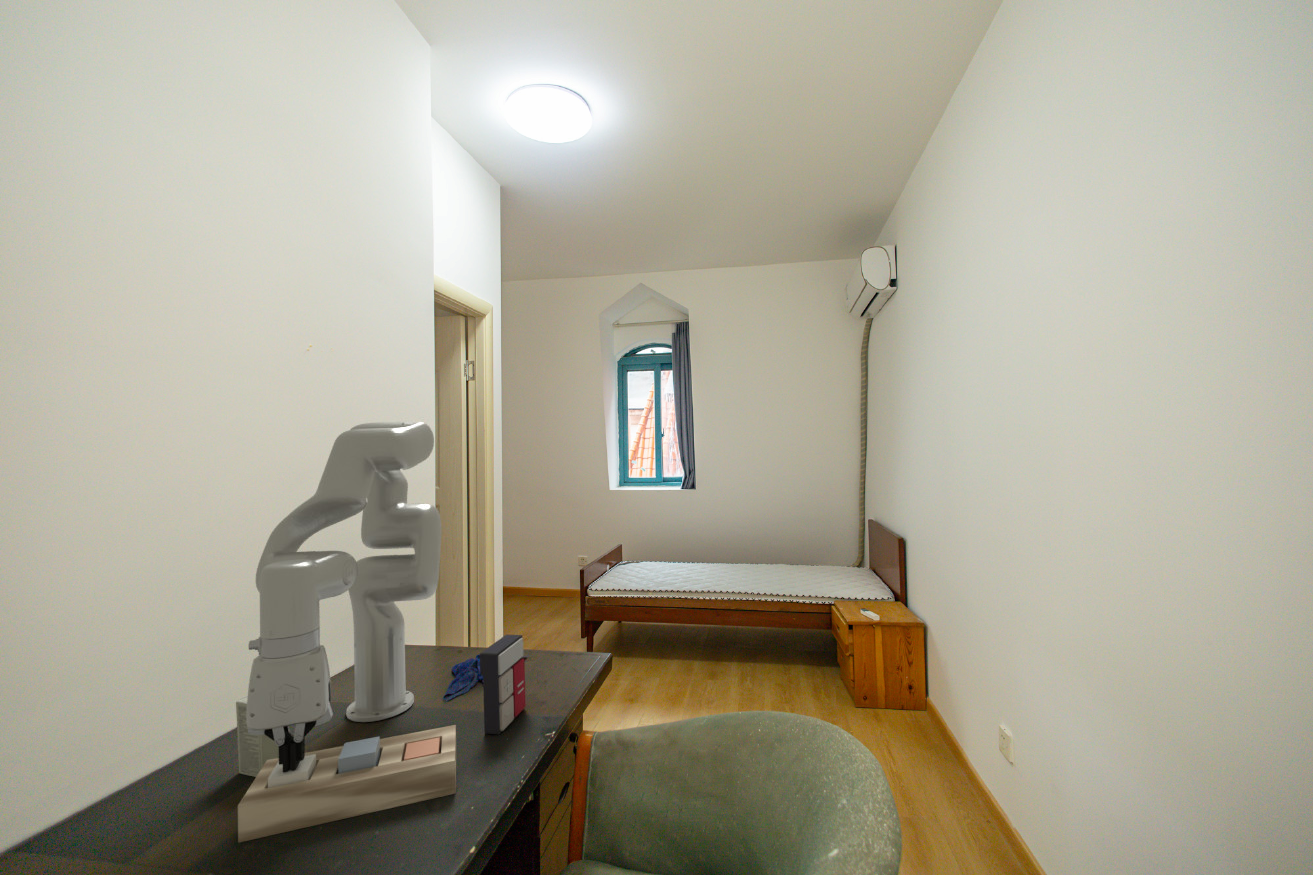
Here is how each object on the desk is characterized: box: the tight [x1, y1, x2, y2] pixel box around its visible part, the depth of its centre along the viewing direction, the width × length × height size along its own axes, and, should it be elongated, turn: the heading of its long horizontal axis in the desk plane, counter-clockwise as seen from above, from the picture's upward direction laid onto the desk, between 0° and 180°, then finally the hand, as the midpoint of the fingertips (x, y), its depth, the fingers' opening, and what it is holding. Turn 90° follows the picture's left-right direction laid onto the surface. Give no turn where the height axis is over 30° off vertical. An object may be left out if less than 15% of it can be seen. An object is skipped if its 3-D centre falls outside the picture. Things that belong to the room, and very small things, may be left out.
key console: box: [237, 724, 457, 844], centre depth 85 cm, size 12×28×5 cm, turn 110°
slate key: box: [338, 736, 381, 774], centre depth 85 cm, size 5×5×3 cm
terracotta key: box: [404, 737, 440, 761], centre depth 88 cm, size 5×5×3 cm
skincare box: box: [235, 695, 279, 778], centre depth 93 cm, size 6×4×12 cm
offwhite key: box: [268, 754, 316, 788], centre depth 82 cm, size 5×5×3 cm
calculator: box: [479, 634, 526, 735], centre depth 107 cm, size 11×4×15 cm, turn 168°
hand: (292, 766), depth 82 cm, fingers closed
